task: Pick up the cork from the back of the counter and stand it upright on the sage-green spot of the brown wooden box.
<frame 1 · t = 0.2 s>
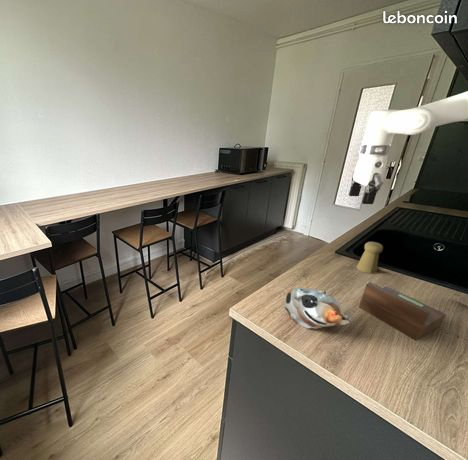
hand: (360, 199, 91), 26 cm above the worktop, tool pointing down, fingers open, 9 cm apart
cork: (366, 269, 95), on the worktop
snowman head: (312, 320, 73), on the worktop
brown wooden box: (397, 315, 73), on the worktop
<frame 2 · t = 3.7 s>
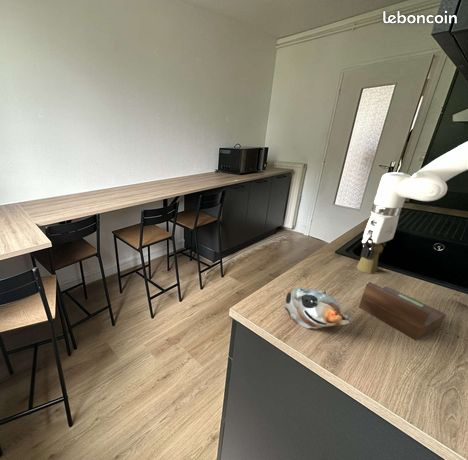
hand: (370, 255, 93), 6 cm above the worktop, tool pointing down, fingers closed on cork, 5 cm apart
cork: (366, 269, 95), on the worktop, touching gripper
everything else where it was.
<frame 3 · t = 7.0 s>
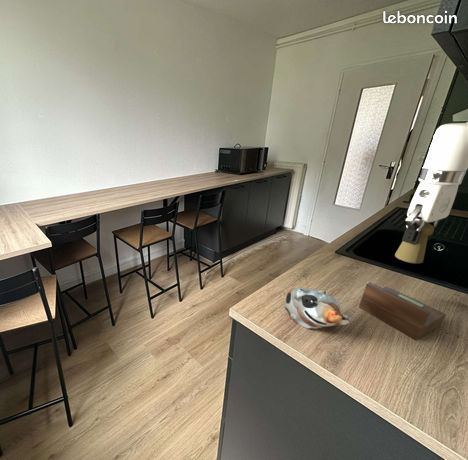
hand: (415, 240, 70), 21 cm above the worktop, tool pointing down, fingers closed on cork, 5 cm apart
cork: (408, 258, 73), point 15 cm above the worktop, touching gripper
everything else where it was.
when the fingers open (10 cm above the worktop, at t = 10.6 s): cork stays where it is, resting on brown wooden box.
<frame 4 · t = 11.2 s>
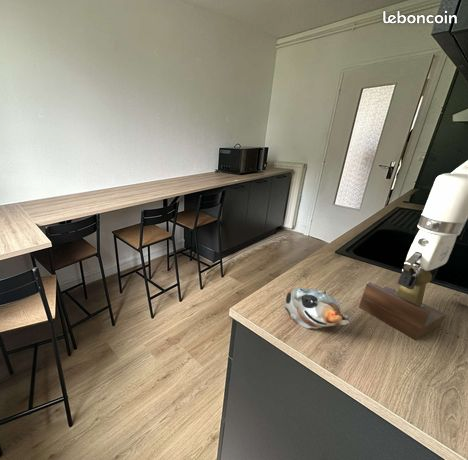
hand: (415, 281, 69), 11 cm above the worktop, tool pointing down, fingers open, 9 cm apart
cork: (406, 302, 72), point 4 cm above the worktop, touching brown wooden box
everything else where it was.
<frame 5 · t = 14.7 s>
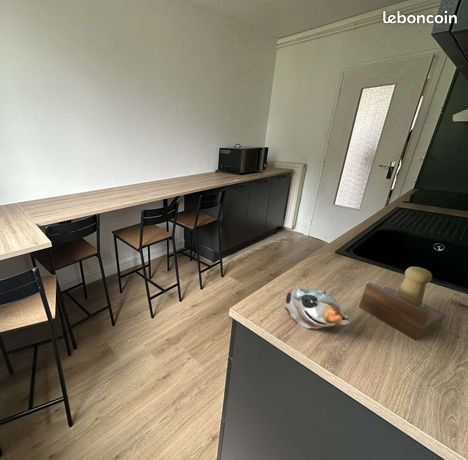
nothing on the worktop moved.
at the end: cork inside the target area on the brown wooden box (0.1 cm from its centre), point 4.0 cm above the brown wooden box's base; cork tilted 0°; the gripper is holding nothing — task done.
